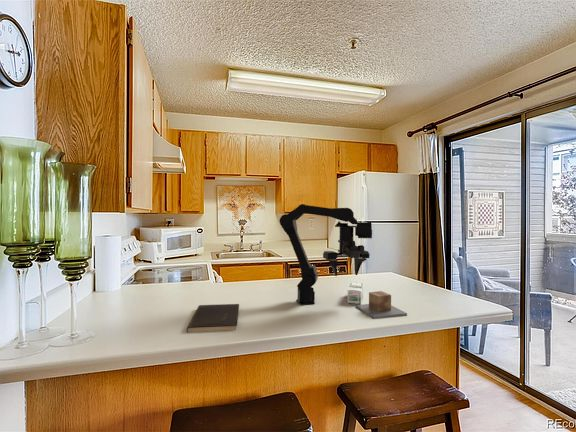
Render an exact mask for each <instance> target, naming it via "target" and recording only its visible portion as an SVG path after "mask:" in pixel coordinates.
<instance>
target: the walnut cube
mask: <svg viewBox="0 0 576 432" xmlns="http://www.w3.org/2000/svg"><path fill="white" fill-rule="evenodd" d="M368 304H369V308H371V309H373V310H375V311H377V312H381V311H390V310H391V305H392V294H390V293H388V292H385V291H381V290H379V291H370V292H369V291H368Z"/></svg>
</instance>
